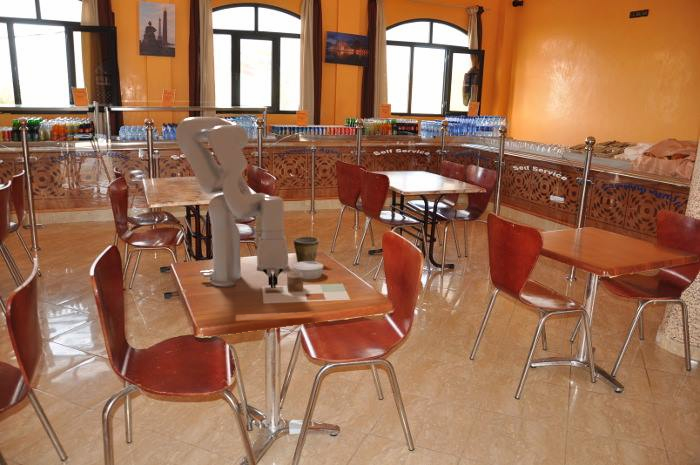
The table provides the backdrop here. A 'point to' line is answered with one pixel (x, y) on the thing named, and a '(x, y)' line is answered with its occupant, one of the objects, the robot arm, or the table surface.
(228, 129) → the robot arm
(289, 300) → the trap deck
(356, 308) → the table surface
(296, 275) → the walnut block
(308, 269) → the ramekin
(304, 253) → the ceramic cup
